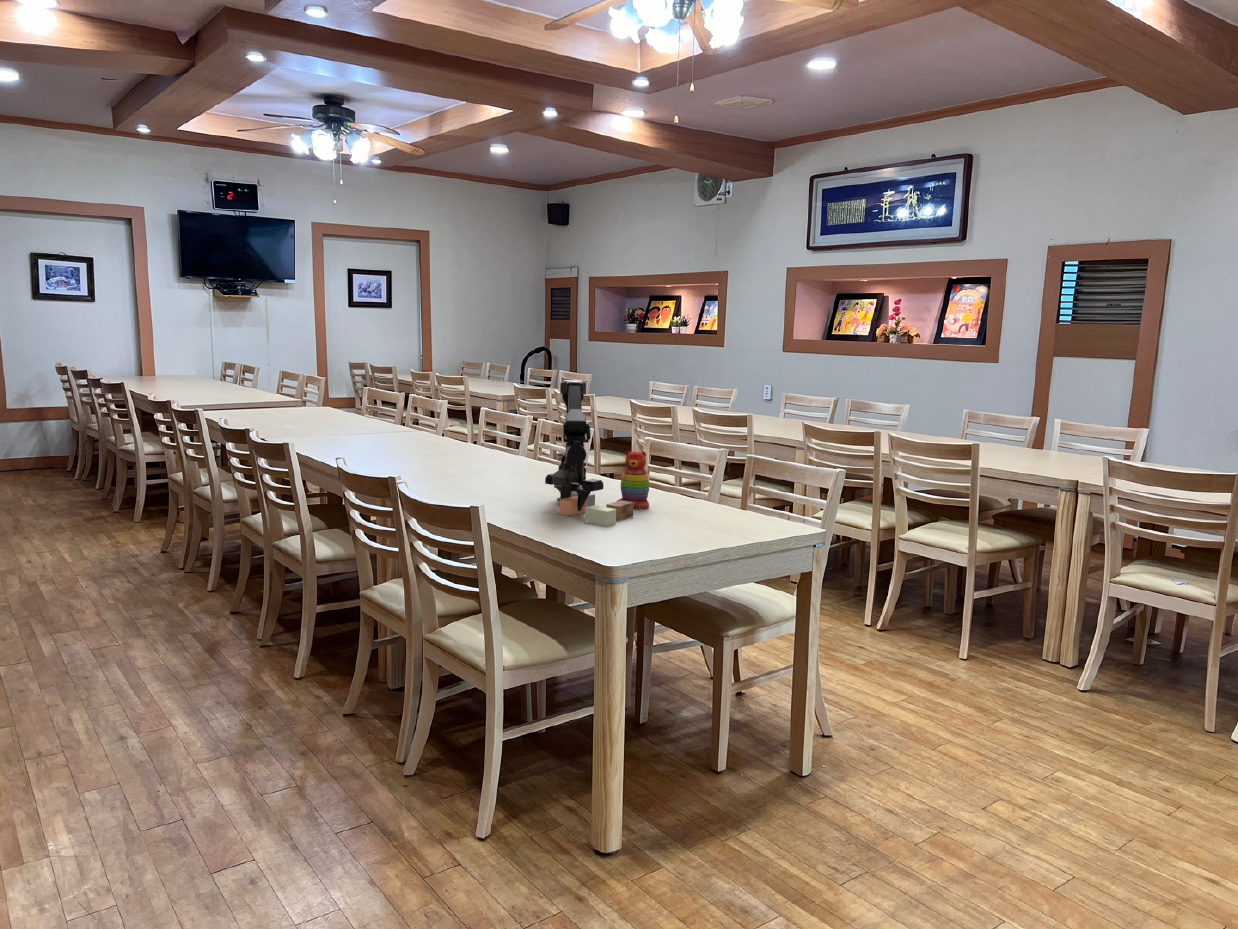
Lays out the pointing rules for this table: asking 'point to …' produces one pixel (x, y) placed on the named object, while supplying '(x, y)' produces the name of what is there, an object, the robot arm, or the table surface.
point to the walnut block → (622, 509)
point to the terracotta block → (571, 506)
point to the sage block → (600, 515)
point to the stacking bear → (635, 480)
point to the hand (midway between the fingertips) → (573, 509)
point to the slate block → (589, 499)
